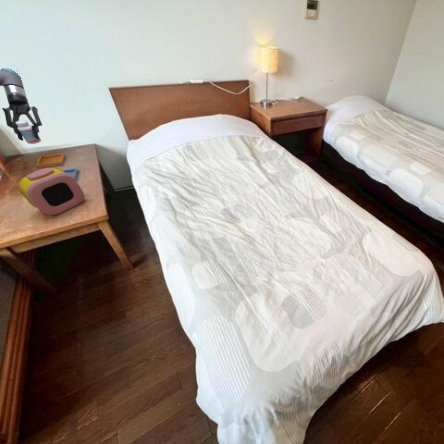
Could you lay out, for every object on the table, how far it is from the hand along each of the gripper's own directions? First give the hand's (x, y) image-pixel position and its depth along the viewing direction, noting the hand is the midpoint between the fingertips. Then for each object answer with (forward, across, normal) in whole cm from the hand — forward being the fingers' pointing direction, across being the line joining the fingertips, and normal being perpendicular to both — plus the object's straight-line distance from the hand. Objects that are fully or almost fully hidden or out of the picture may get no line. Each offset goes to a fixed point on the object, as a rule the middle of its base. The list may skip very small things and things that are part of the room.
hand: (29, 138), depth 133 cm
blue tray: (+23, -9, -2) cm, 25 cm away
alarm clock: (+43, -13, +17) cm, 48 cm away
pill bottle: (0, 0, -5) cm, 5 cm away
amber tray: (+8, 0, -18) cm, 20 cm away
